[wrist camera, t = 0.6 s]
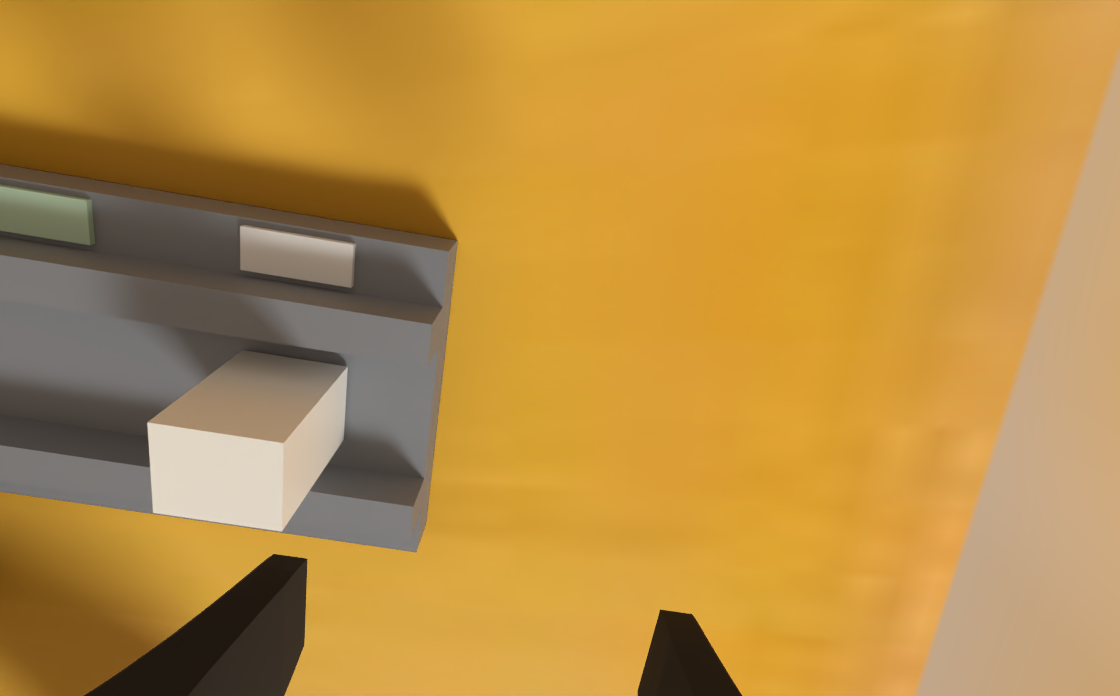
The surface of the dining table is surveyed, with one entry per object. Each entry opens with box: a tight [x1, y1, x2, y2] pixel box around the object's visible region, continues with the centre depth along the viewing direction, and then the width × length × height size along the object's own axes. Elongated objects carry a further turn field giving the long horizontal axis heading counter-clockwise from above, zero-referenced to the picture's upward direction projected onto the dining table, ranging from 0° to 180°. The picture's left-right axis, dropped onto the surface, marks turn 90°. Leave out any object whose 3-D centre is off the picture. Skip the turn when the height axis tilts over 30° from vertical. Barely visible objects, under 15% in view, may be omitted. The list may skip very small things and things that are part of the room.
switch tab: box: [147, 350, 348, 532], centre depth 17 cm, size 2×3×4 cm
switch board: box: [0, 164, 458, 552], centre depth 19 cm, size 10×16×3 cm, turn 81°
